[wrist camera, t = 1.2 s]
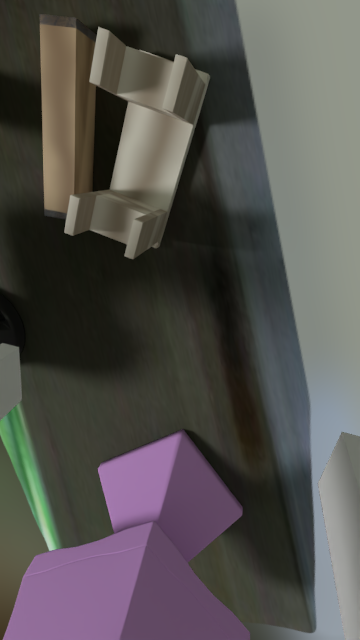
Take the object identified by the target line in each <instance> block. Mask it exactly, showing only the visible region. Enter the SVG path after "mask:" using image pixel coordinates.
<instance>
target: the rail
mask: <svg viewBox="0 0 360 640" xmlns="http://www.w3.org/2000/svg"><path fill="white" fill-rule="evenodd" d="M96 38H97V35H96V34H95V33H94V32H93V31H92V30H90V29H89V28H88V27H87V26H85V25H84V24H83V23H82V22H80V21H79V20H78V19H77V18H71V17H62V16H53V15H43V14H40V47H41V88H42V129H43V170H44V211H45V216H50V217H55V218H60V219H66V218H67V212H68V206H69V200H70V195H73V194H81V193H88V192H92V191H93V160H94V129H95V99H96V85H94V84H92V83H90V82H89V80H90V74H91V68H92V62H93V56H94V50H95V44H96Z"/></svg>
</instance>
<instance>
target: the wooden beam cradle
mask: <svg viewBox="0 0 360 640" xmlns="http://www.w3.org/2000/svg"><path fill="white" fill-rule="evenodd" d="M209 80H210V76H209V74H207V73H204V72H202V71H199V70H196V69H194V67H193V66H192V64H191V63H190V61H189V60H188V58H186V57H183V56H180V55H177V54H176V56H175V60H174V62H173V61H170V60H168V59H165V58H162V57H159V56H156V55H153V54H150V53H148V52H145V51H142V50H140V51H139V50H136V49H133V48H130V47H128V46H126V45H125V44H123V43H122V42H121V41H120V40H119V39H118V38H117V37H116V36H115V35H113V34H112V33H111V32H110V31H109V30H106V29H103V28H100V27H98V32H97V38H96V44H95V50H94V56H93V62H92V68H91V74H90V80H89V82H90V83H92V84H94V85H96V86H98V87H100V88H102V89H104V90H106V91H108V92H110V93H112V94H114V95H116V96H118V97H120V98H122V99H124V100H126V101H128V106H127V111H126V116H125V120H124V125H123V129H122V134H121V139H120V143H119V148H118V153H117V157H116V162H115V167H114V171H113V176H112V181H111V185H110V190H103V191H96V192H88V193H81V194H73V195H70V200H69V206H68V212H67V218H66V224H65V230H64V233H67V234H69V235H72V236H74V235H76V234H79V233H82V232H85V231H88V230H91V231H94V232H96V233H99V234H101V235H104V236H106V237H109V238H112V239H114V240H117V241H119V242H122V243H124V244H127V247H126V251H125V255H124V256H125V257H128V258H130V259H134V258H136V257H137V256H139V255H140V254H142V253H143V252H144V251H146V250H147V249H149V248H150V247H153V248H156V249H157V248H158V247H159V246H160V243H161V240H162V237H163V233H164V230H165V227H166V223H167V220H168V217H169V213H170V210H171V207H172V203H173V200H174V197H175V193H176V190H177V187H178V183H179V180H180V177H181V174H182V170H183V167H184V164H185V160H186V157H187V154H188V150H189V147H190V144H191V140H192V137H193V134H194V130H195V127H196V124H197V120H198V117H199V114H200V110H201V107H202V104H203V100H204V97H205V94H206V90H207V87H208V84H209Z"/></svg>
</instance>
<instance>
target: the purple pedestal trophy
mask: <svg viewBox="0 0 360 640" xmlns="http://www.w3.org/2000/svg"><path fill="white" fill-rule="evenodd" d="M98 472H99V476H100V480H101V484H102V487H103V491H104V495H105V499H106V503H107V507H108V511H109V515H110V518H111V522H112V526H113V530H114V534H113V535H111V536H108V537H106V538H104V539H101V540H98V541H95V542H92V543H88V544H85V545H81V546H78V547H72V548H64V549H56V550H52V551H49V552H46V553H42V554H39V555H36V556H35V558H34V559H33V561H32V563H31V564H30V566H29V568H28V569H27V571H26V573H25V575H24V576H23V580H22V583H21V586H20V590H19V593H18V596H17V600H16V603H15V606H14V610H13V613H12V616H11V619H10V621H9V625H8V628H7V631H6V633H5V636H4V638H3V640H250V632H249V631H248V630H247V629H246V628H245V626H244V625H243V624H242V623H241V622H240V621H239V619H238V618H237V617H236V616H235V615H234V614H233V612H232V611H230V610H229V609H228V608H227V607H226V606H225V605H224V604H223V603H221V602H220V601H219V600H218V599H217V598H216V597H215V596H214V595H213V594H212V593H211V592H210V591H209V590H208V588H207V587H206V586H205V585H204V584H203V583H202V581H201V580H200V579H199V578H198V577H197V576H196V574H195V573H194V572H193V570H192V569H191V568H190V566H189V565H188V562H189V561H190V560H191V559H192V558H193V557H195V556H196V555H197V554H198V553H199V552H200V551H202V550H203V549H204V548H205V547H206V546H207V545H209V544H210V543H211V542H212V541H213V540H214V539H216V538H217V537H218V536H219V535H220V534H221V533H223V532H224V531H225V530H226V529H227V528H228V527H229V526H231V525H232V524H233V523H234V522H235V521H236V520H238V519H239V518H240V517H241V516H242V512H243V507H242V506H241V504H240V503H239V502H238V500H237V499H236V498H235V496H234V495H233V494H232V492H231V491H230V490H229V488H228V487H227V486H226V485H225V483H224V482H223V481H222V479H221V478H220V477H219V475H218V474H217V473H216V471H215V470H214V469H213V467H212V466H211V465H210V464H209V462H208V461H207V460H206V458H205V457H204V456H203V454H202V453H201V452H200V450H199V449H198V448H197V446H196V445H195V444H194V443H193V441H192V440H191V439H190V437H189V436H188V435H187V433H186V432H185V431H184V429H182V430H179V431H177V432H175V433H172V434H170V435H167V436H165V437H162V438H160V439H157V440H155V441H153V442H150V443H148V444H145V445H143V446H140V447H138V448H136V449H133V450H131V451H128V452H126V453H123V454H121V455H119V456H116V457H114V458H111V459H109V460H106V461H104V462H102V463H101V464H100V466H99V468H98Z"/></svg>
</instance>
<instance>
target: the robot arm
mask: <svg viewBox="0 0 360 640" xmlns="http://www.w3.org/2000/svg"><path fill="white" fill-rule="evenodd" d="M24 343H25V333H24V327H23V324H22V321H21V319H20V317H19V315H18V313H17V311H16V310H15V308H14V307H13V306H12V305H11V303H10V302H9V301H8V300H7V299H6V298H5V297H3V296H2V295H1V294H0V420H1V419H2V418H3V417H4V416H5V415H6V414H7V413H8V412H10V411H11V410H12V409H13V408H14V407H15V406H16V405H17V404H18V403H19V402H20V401H21V400H22V391H21V374H20V356H19V355H20V353H21V352H22V350H23V347H24ZM318 487H319V493H320V499H321V504H322V510H323V516H324V521H325V527H326V533H327V539H328V544H329V550H330V556H331V562H332V567H333V573H334V579H335V585H336V590H337V596H338V602H339V607H340V613H341V619H342V624H343V630H344V636H345V640H360V437H359V436H356V435H352V434H348V433H344V432H342V433H341V435H340V437H339V439H338V442H337V444H336V446H335V448H334V450H333V452H332V454H331V457H330V459H329V461H328V463H327V465H326V467H325V470H324V472H323V474H322V476H321V478H320V480H319V482H318Z"/></svg>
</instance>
